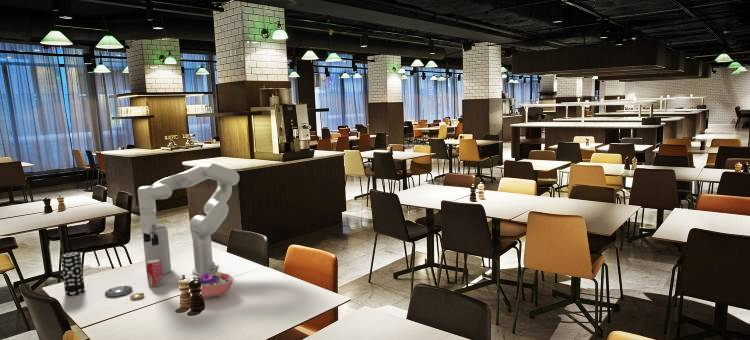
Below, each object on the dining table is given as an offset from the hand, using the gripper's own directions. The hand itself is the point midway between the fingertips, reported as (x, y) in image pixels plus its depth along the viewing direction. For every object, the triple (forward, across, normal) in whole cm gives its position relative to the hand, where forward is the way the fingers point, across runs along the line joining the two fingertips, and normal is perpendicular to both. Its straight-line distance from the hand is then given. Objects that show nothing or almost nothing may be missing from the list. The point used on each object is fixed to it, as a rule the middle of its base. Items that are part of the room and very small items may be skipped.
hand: (151, 243), depth 244 cm
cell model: (+22, +37, +12) cm, 45 cm away
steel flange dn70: (+22, -4, -16) cm, 28 cm away
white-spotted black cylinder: (+22, -21, -31) cm, 44 cm away
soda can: (+22, 0, 0) cm, 22 cm away
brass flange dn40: (+22, +10, -13) cm, 27 cm away
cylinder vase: (+22, -18, +9) cm, 30 cm away
